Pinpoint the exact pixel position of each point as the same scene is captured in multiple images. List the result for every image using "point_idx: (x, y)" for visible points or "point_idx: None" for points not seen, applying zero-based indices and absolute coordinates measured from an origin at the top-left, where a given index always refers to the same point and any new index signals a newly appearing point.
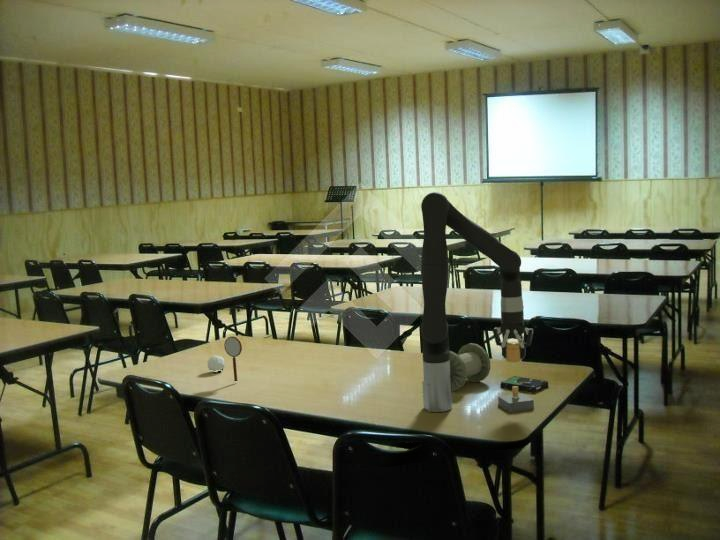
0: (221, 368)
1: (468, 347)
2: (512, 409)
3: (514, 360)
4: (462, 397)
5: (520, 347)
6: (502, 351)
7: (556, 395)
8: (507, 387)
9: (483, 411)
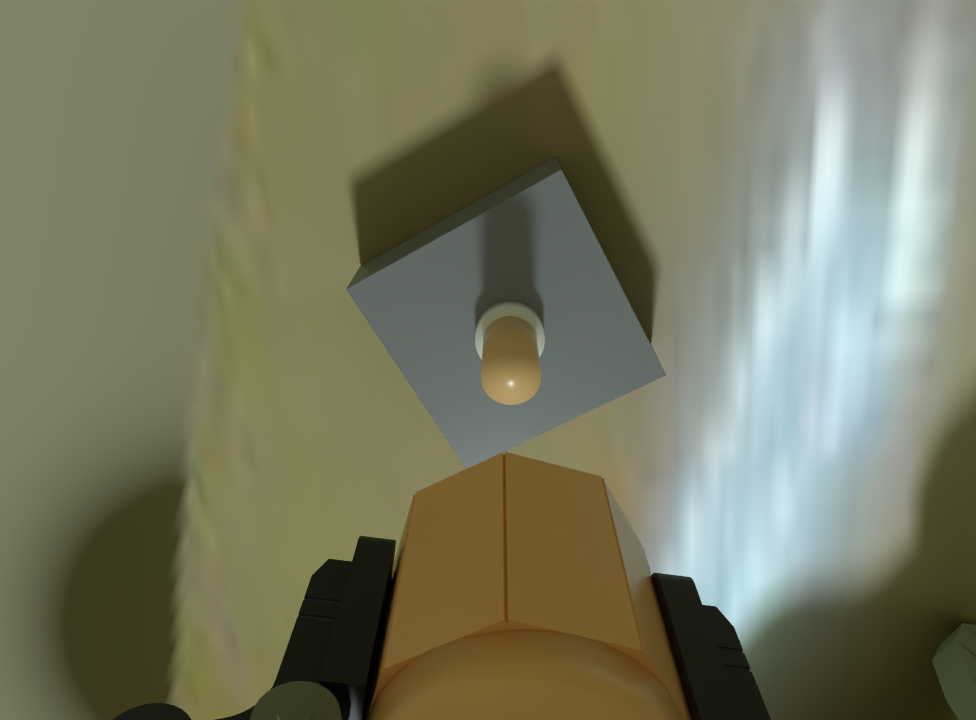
0: None
1: None
2: (528, 174)
3: (500, 472)
4: (929, 499)
5: None
6: (743, 676)
7: (244, 575)
8: None
9: (782, 153)
